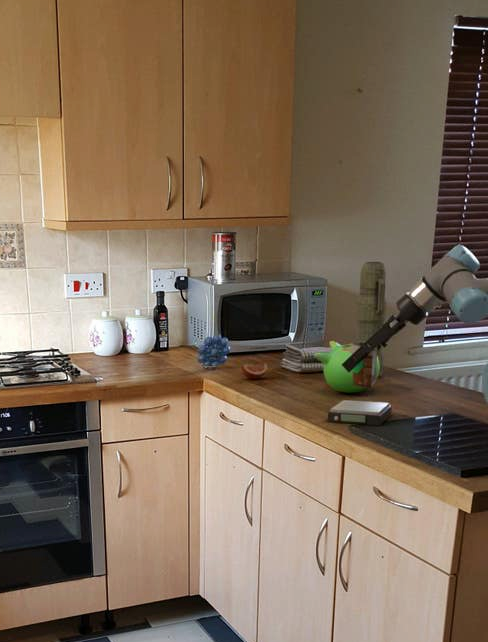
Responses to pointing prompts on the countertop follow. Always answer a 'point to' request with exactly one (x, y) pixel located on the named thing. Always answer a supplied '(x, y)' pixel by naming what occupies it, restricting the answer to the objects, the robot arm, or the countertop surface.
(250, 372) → the fruit slice
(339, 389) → the toy bird
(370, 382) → the food container
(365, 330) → the thermos
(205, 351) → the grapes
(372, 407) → the kitchen scale
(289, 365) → the towel
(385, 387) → the countertop surface
